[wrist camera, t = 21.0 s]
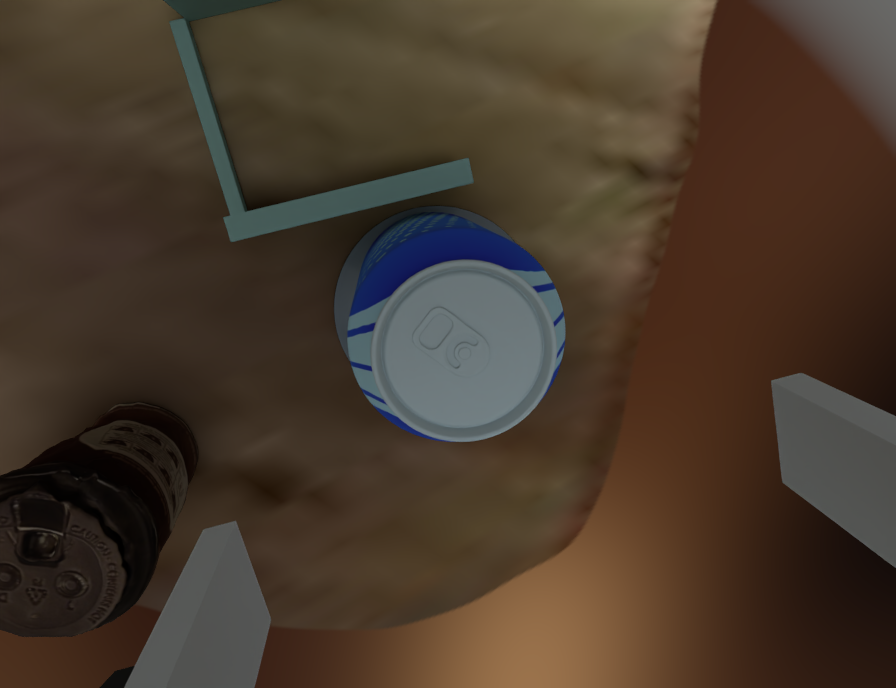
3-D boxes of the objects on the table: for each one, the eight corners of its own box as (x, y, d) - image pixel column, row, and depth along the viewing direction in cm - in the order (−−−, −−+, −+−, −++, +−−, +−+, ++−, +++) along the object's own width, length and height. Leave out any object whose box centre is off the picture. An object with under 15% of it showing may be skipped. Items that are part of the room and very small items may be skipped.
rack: (166, 0, 34) (122, -37, 28) (406, -55, 35) (412, -102, 29) (240, 235, 37) (214, 246, 32) (459, 182, 38) (473, 182, 32)
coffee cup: (147, 352, 38) (34, 435, 26) (248, 451, 41) (189, 573, 28) (39, 445, 39) (-122, 571, 27) (144, 538, 41) (41, 696, 29)
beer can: (487, 195, 38) (560, 206, 22) (516, 335, 40) (600, 435, 24) (343, 229, 37) (314, 265, 22) (379, 368, 39) (377, 490, 24)
